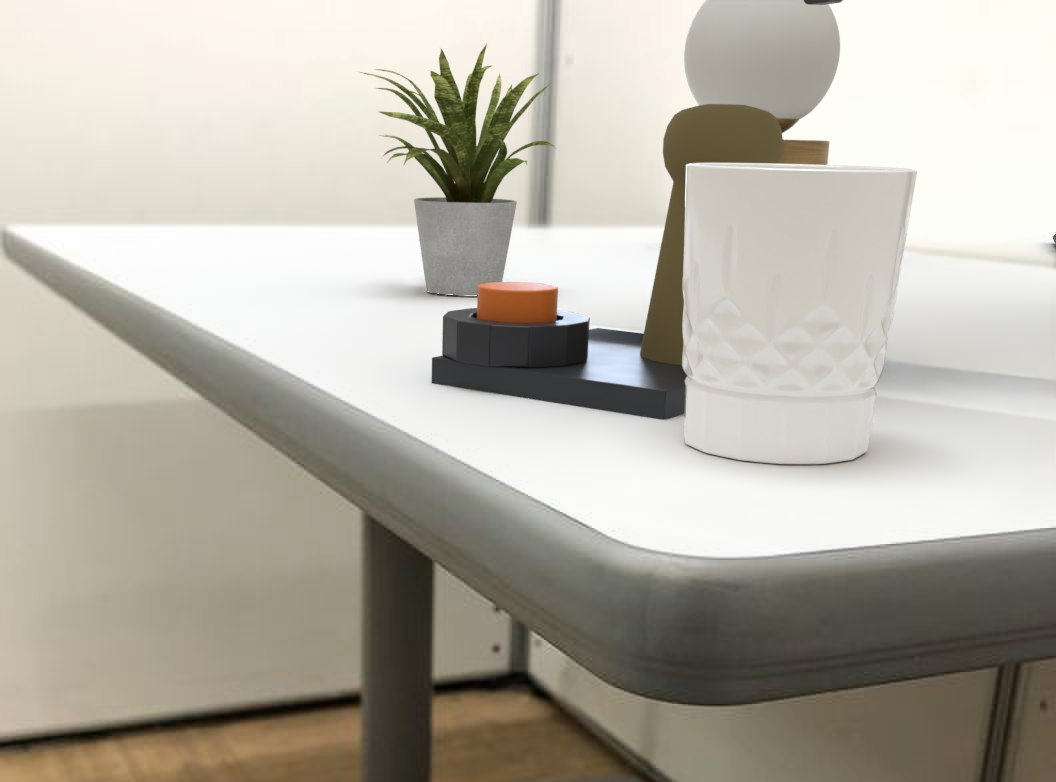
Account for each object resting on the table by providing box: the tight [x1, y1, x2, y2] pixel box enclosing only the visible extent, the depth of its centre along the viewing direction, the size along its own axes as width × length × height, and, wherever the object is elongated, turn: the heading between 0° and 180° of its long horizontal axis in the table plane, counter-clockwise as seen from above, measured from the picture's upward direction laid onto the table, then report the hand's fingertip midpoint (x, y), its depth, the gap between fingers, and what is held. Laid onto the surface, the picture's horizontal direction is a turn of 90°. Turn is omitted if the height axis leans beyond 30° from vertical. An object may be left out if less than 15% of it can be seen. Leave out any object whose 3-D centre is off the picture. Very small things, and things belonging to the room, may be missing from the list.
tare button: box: [476, 281, 559, 323], centre depth 63 cm, size 4×4×2 cm
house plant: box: [355, 42, 556, 295], centre depth 97 cm, size 14×14×16 cm
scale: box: [431, 307, 687, 421], centre depth 65 cm, size 14×13×3 cm
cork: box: [640, 104, 784, 365], centre depth 63 cm, size 6×6×11 cm
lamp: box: [683, 0, 841, 165], centre depth 133 cm, size 15×14×25 cm
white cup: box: [682, 163, 918, 465], centre depth 51 cm, size 8×8×10 cm
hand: (740, 0), depth 60 cm, fingers open, 8 cm apart
